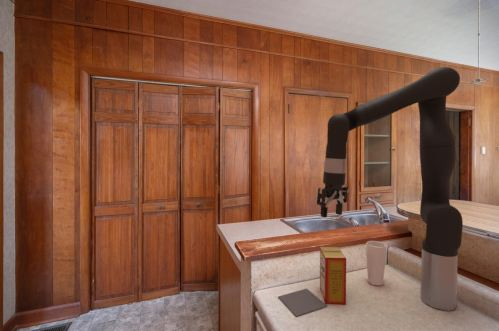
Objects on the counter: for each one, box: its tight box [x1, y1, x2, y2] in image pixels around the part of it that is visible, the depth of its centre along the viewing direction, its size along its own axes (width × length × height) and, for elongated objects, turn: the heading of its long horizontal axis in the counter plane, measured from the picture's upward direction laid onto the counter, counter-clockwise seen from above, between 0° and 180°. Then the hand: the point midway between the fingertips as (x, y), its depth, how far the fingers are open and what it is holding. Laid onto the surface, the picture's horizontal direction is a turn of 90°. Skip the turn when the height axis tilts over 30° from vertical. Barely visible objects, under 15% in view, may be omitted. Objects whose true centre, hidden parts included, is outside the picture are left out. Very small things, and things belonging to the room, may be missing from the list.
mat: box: [277, 287, 328, 318], centre depth 82 cm, size 12×11×1 cm
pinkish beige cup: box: [365, 240, 387, 287], centre depth 93 cm, size 7×7×15 cm
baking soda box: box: [319, 246, 347, 306], centre depth 85 cm, size 10×6×16 cm
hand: (331, 215), depth 89 cm, fingers open, 8 cm apart
